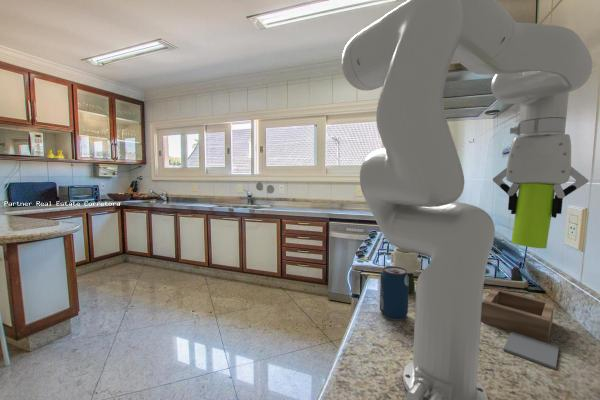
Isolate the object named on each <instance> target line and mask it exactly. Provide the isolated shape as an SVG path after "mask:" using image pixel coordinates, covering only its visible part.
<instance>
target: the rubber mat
mask: <svg viewBox="0 0 600 400" xmlns="http://www.w3.org/2000/svg"><path fill="white" fill-rule="evenodd" d="M559 349H560V347H559V346H558V345H554V344H551V343H549V342H548V343H546V342H543V341H540V340H537V339H534V338H531V337H528V336H525V335H521V334H518V333H515V332H512V331H510V333H509V336H508V337H507V340H506V342H505V344H504V345H503V349H502V350H503V351H504V352H507V353H509V354H511V355H515V356H518V357H521V358H523V359H525V360H529V361H531V362H533V363H536V364H538V365H541V366H545V367H547V368H549V369H553V370H556V369H557V362H558V358H559Z"/></svg>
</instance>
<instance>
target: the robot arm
mask: <svg viewBox="0 0 600 400" xmlns="http://www.w3.org/2000/svg"><path fill="white" fill-rule="evenodd" d="M453 60H455V61H457V62H458V63H459V64H461V66H463V67H464V68H466V69H467V70H468V71H470V72H471V73H474V74H476V75H481V76H482V75H487V76H489V75H490V76H492V75H494V76H493V78H492V80H491V83H490V84H491V85H490V89H491V93H492V95H493V97H494V98H495V99H496V100H497V101H498V102H500V103H502V104H506V105H520V106H519V107H520V109H519V120H518V124H517V125H516V126H514V127H510V130H509V134H511V135H516V136H517V137H514V138H512V142H511V144H510V147H509V153H508V157H507V158H508V159H507V164H506V165H507V166H506V168H504V169H502V171H501V172H499V173H498V174H497V175H495V176H494V177H493V178H492V181H493V182H494V183H495V184H496V185H497V186H498V187H500V189H501V190H502V191H504V193H506V194H507V195H508V206H507V207H508V208H507V210H508V211H510V215H515V213H516V206H517V199H518V192H519V185H520V184H521V183H539V184H552V185H554V191H555V194H554V199H553V204H552V214H551V218H554V219H556V218H557V215H562V208H563V200H564V198H565V197H567V196H569V195H570V194H572V193H573V192H575V191H576V190H577V189H579V188H581V187H583V186H584V185H586V184H588V183H589V180H588V178H587V177H586V176H584V175H583V174H581V173H580V172H579V171H578V170H576V169H575V168H574V167H573V166H572V142H571V141H572V140H571V136H570V134H568V133H566V126H567V116H568V107H569V106H568V105H569V97H570V96H569V93H571V92H573V91H576V90H579V89H580V88H582V87H583V86H584V85H585V84H586V83H587V82H588V81H589V79H590V78H591V74H592V71H593V59H592V56H591V53H590V51H589V49H588V47H587V45H586V44H585V43H584V41H583V40H582V38H581V37H580V35H579V34H577V32H575V31H574V30H572V29H570V28H567V27H564V26H560V25H554V24H553V25H552V24H545V23H544V24H543V23H533V22H517V21H516V20H515V19H514V18H513V17H512V16H511V15H510V13H509V12H508V11H506V9H505V8H504V7H503V6H502V5H501V4H500V2H499V1H498V0H406V1H404V2H403V3H401V4H400V5H398V6H397V7H395V8H394V9H392V10H391V11H389V12H388V13H386V14H385V15H383V16H382V17H381V18H379V19H377V20H376V21H374V22H373V23H371V24H370V25H368V26H367V27H365V28H363V29H362V30H361V31H359V32H358V33H356V34H355V35H354V36H353V37H351V38H350V39H349V40H348V42H347V43H346V45H345V46H344V50H343V52H342V56H341V69H342V72H343V76H344V77H345V79H346V81H347V82H348V83H349V84H350V85H351V86H352V87H354V88H355V89H357V90H360V91H367V92H368V91H372V90H376V89H380V88H381V87H382V88H381V91H380V95H379V98H378V102H377V107H376V115H375V117H376V119H375V120H376V121H375V122H376V128H377V131H378V134H379V137H380V140H381V142H382V145H383V147H382V148H378V149H375V150H373V151H371V152H370V153H368V155H367V156H366V157H365V158H364V160H363V161H362V163H361V166H360V170H359V183H360V184H359V185H360V186H359V187H360V189H361V193H362V195H363V197H364V200H365V202H366V204H367V205H368V207H369V210H370V211H371V213H372V214H371V215H373V218H374V220H375V221H376V224H377V225H378V228H379V230H380V231H381V233H382V235H383V237H384V239H386V241H387V242H388V243H389V244H391V245H392V246H394V247H395V248H401V249H404V250H407V251H411V252H415V253H418V255H422V256H424V257H428V258H430V262H429V263H428V265H427V266H426V267H425V268H424V270H423V271H422V272H420V274H419V276H418V277H417V279H416V280H417V281H416V287H415V304H414V305H415V306H414V307H415V309H414V326H413V327H414V332H413V353H412V354H413V355H412V361H409V362H408V363H407V364H406V365H405V366H404V368H403V371H402V382H403V385H404V388H405V389H406V391H407V393H406V394H405V399H406V400H489V399H488V394H487V391H486V390H485V388H484V386H483V385H482V384H481V383H480V382H479V381H478V374H479V356H480V342H481V341H480V340H481V329H482V328H481V326H482V325H481V324H482V322H481V313H482V302H483V293H484V284H485V277H486V276H485V275H486V272H487V266H488V261H489V258H490V254H491V250H492V247H493V244H494V240H495V233H496V230H495V222H494V220H493V218H492V217H491V215H490V214H489V213H488V212H486V211H485V210H484V209H483V208H481V207H479V206H476V205H472V204H470V203H465V202H460V201H459V202H458V201H457V200H458V199H460V197H461V196H462V194H463V192H464V189H465V177H464V176H465V175H464V171H463V170H464V169H463V168H462V164H461V160H460V158H459V153H458V151H457V147H456V145H455V142H454V139H453V135H452V132H451V129H450V126H449V122H448V119H447V116H446V113H445V107H444V92H445V91H444V89H445V85H446V80H447V76H448V73H449V70H450V68H451V63H452V61H453ZM570 177H572V178H573V179H574V180H575V182H573V183H572V184H570V185H569V186H567V187H566V188H563V186H562V184H565V183H567V182H568V181H569V180H570ZM505 178H506V181H508V182H510V183H512V184H511V186H510V185H508V184H507V183H506V182H504V181H503V179H505Z"/></svg>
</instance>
